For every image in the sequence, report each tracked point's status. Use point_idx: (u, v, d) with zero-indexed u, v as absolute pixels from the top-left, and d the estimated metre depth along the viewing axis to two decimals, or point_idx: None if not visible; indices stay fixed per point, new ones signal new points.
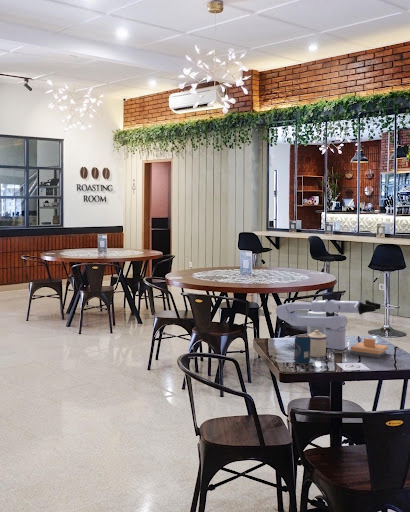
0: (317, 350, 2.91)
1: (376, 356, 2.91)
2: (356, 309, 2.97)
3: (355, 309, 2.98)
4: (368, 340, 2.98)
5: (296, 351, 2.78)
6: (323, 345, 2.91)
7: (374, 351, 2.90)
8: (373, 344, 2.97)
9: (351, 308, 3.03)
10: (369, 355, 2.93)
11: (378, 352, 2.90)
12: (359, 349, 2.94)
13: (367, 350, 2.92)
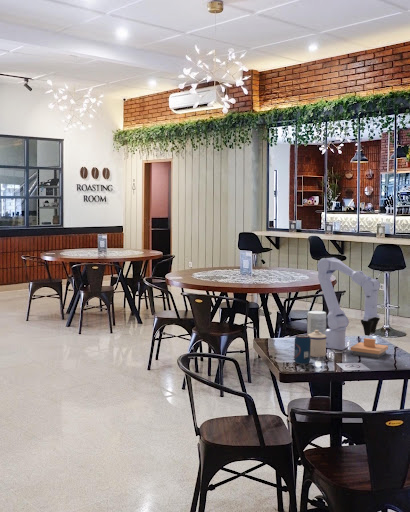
0: (317, 350, 2.91)
1: (376, 356, 2.91)
2: (365, 319, 2.91)
3: (365, 318, 2.91)
4: (368, 340, 2.98)
5: (296, 351, 2.78)
6: (323, 345, 2.91)
7: (374, 351, 2.90)
8: (373, 344, 2.97)
9: (368, 309, 2.95)
10: (369, 355, 2.93)
11: (378, 352, 2.90)
12: (359, 349, 2.94)
13: (367, 350, 2.92)
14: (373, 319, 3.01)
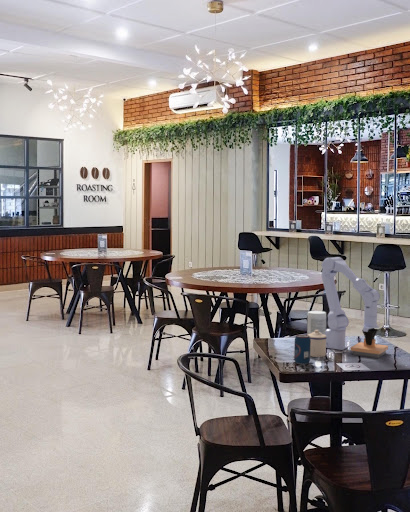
0: (317, 350, 2.91)
1: (376, 356, 2.91)
2: (364, 330, 2.92)
3: (364, 329, 2.92)
4: None
5: (296, 351, 2.78)
6: (323, 345, 2.91)
7: (374, 351, 2.90)
8: (373, 344, 2.97)
9: (367, 320, 2.95)
10: (369, 355, 2.93)
11: (378, 352, 2.90)
12: (359, 349, 2.94)
13: (367, 350, 2.92)
14: None
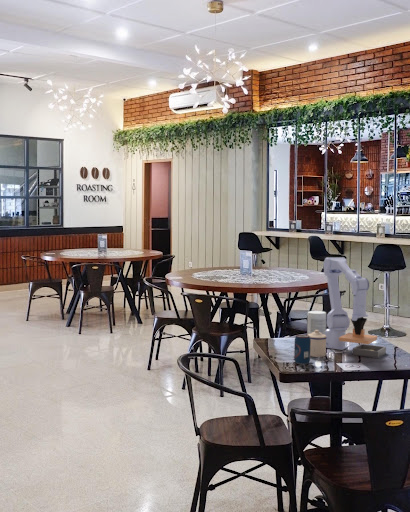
0: (317, 350, 2.91)
1: (376, 356, 2.91)
2: (353, 319, 2.85)
3: (353, 318, 2.85)
4: None
5: (296, 351, 2.78)
6: (323, 345, 2.91)
7: (363, 341, 2.84)
8: (362, 334, 2.90)
9: (356, 309, 2.89)
10: (369, 355, 2.93)
11: (367, 342, 2.83)
12: (348, 339, 2.88)
13: (356, 340, 2.86)
14: None
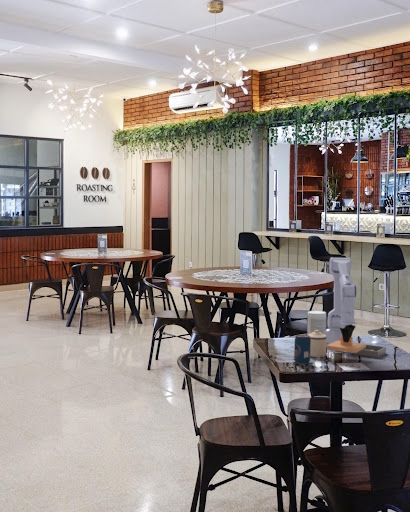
0: (317, 350, 2.91)
1: (376, 356, 2.91)
2: (341, 326, 2.80)
3: (341, 325, 2.80)
4: None
5: (296, 351, 2.78)
6: (323, 345, 2.91)
7: (350, 350, 2.79)
8: (350, 342, 2.85)
9: (344, 316, 2.83)
10: (369, 355, 2.93)
11: (355, 351, 2.78)
12: (335, 348, 2.82)
13: (343, 349, 2.80)
14: (348, 327, 2.87)
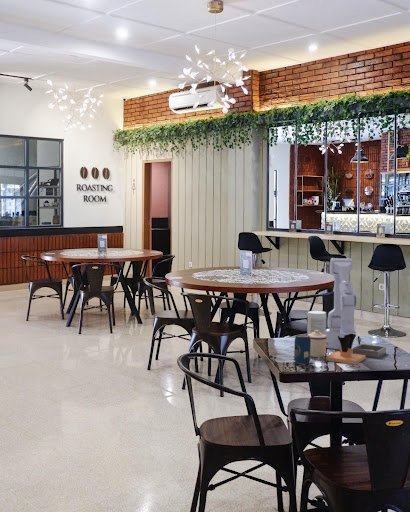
0: (317, 350, 2.91)
1: (376, 356, 2.91)
2: (340, 336, 2.80)
3: (340, 335, 2.80)
4: None
5: (296, 351, 2.78)
6: (323, 345, 2.91)
7: (350, 361, 2.79)
8: (350, 354, 2.85)
9: (344, 325, 2.84)
10: (369, 355, 2.93)
11: (354, 362, 2.78)
12: (335, 359, 2.83)
13: (343, 360, 2.81)
14: (349, 336, 2.88)
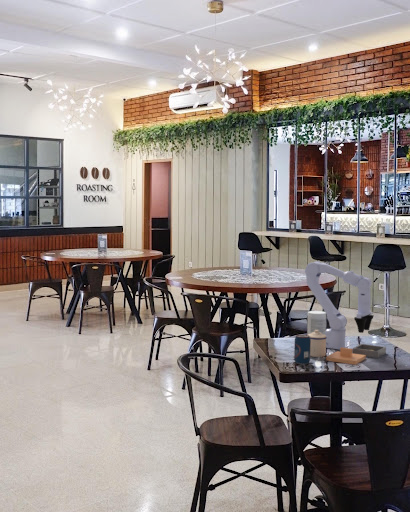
0: (317, 350, 2.91)
1: (376, 356, 2.91)
2: (358, 317, 2.98)
3: (358, 316, 2.98)
4: (345, 349, 2.86)
5: (296, 351, 2.78)
6: (323, 345, 2.91)
7: (350, 361, 2.79)
8: (350, 354, 2.85)
9: (361, 307, 3.02)
10: (369, 355, 2.93)
11: (354, 362, 2.78)
12: (335, 359, 2.83)
13: (343, 360, 2.81)
14: (367, 317, 3.07)
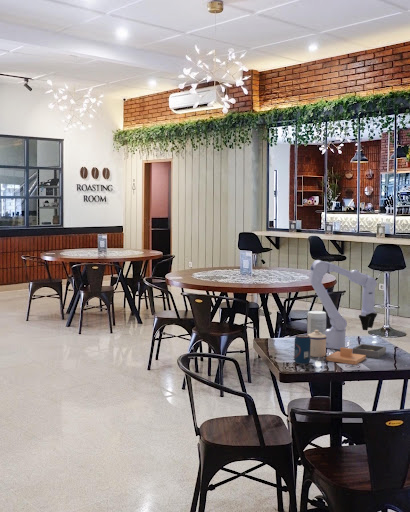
0: (317, 350, 2.91)
1: (376, 356, 2.91)
2: (362, 314, 3.04)
3: (362, 313, 3.04)
4: (345, 349, 2.86)
5: (296, 351, 2.78)
6: (323, 345, 2.91)
7: (350, 361, 2.79)
8: (350, 354, 2.85)
9: (365, 305, 3.08)
10: (369, 355, 2.93)
11: (354, 362, 2.78)
12: (335, 359, 2.83)
13: (343, 360, 2.81)
14: (371, 314, 3.13)
